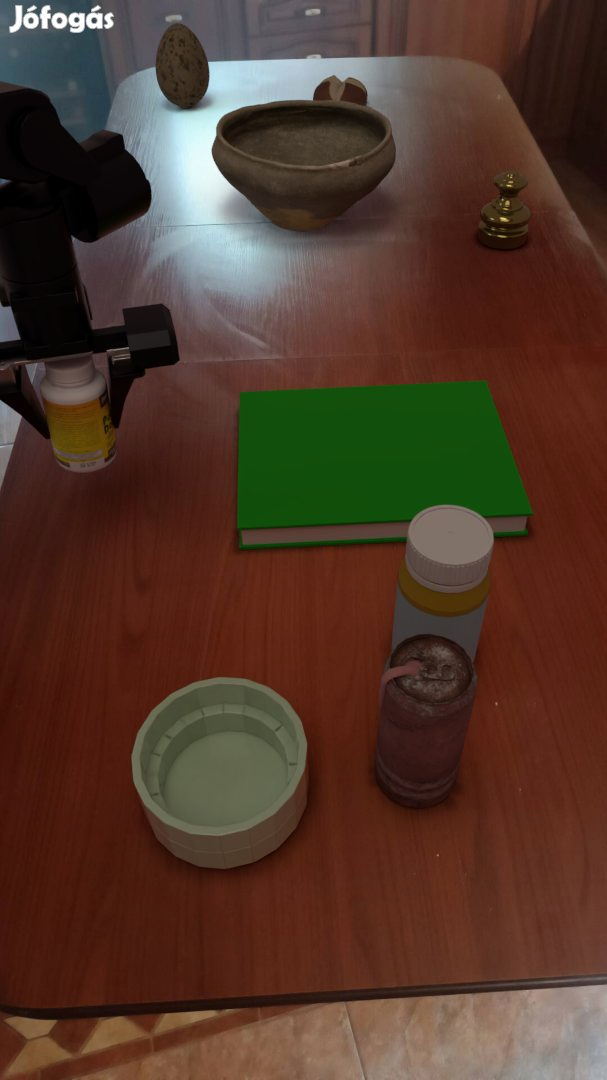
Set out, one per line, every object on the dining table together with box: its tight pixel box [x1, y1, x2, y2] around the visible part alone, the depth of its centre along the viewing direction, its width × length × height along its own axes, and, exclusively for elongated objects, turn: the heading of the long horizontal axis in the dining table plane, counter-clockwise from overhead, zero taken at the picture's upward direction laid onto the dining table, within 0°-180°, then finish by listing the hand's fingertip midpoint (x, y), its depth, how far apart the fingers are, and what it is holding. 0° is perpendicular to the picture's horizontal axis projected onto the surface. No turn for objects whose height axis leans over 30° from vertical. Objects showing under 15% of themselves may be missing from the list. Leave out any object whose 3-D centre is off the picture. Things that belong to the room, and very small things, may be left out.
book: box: [236, 379, 534, 551], centre depth 85 cm, size 22×28×3 cm
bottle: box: [391, 505, 495, 664], centre depth 63 cm, size 7×7×15 cm
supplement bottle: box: [39, 355, 118, 474], centre depth 70 cm, size 6×6×10 cm
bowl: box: [211, 99, 397, 232], centre depth 124 cm, size 28×28×14 cm
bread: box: [312, 74, 368, 107], centre depth 163 cm, size 11×11×5 cm
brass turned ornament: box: [477, 169, 532, 250], centre depth 118 cm, size 7×7×10 cm
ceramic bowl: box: [130, 676, 310, 870], centre depth 58 cm, size 12×12×6 cm
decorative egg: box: [154, 22, 211, 109], centre depth 162 cm, size 11×11×15 cm
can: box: [374, 633, 479, 809], centre depth 56 cm, size 6×6×14 cm
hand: (82, 431), depth 72 cm, fingers closed on supplement bottle, 6 cm apart
